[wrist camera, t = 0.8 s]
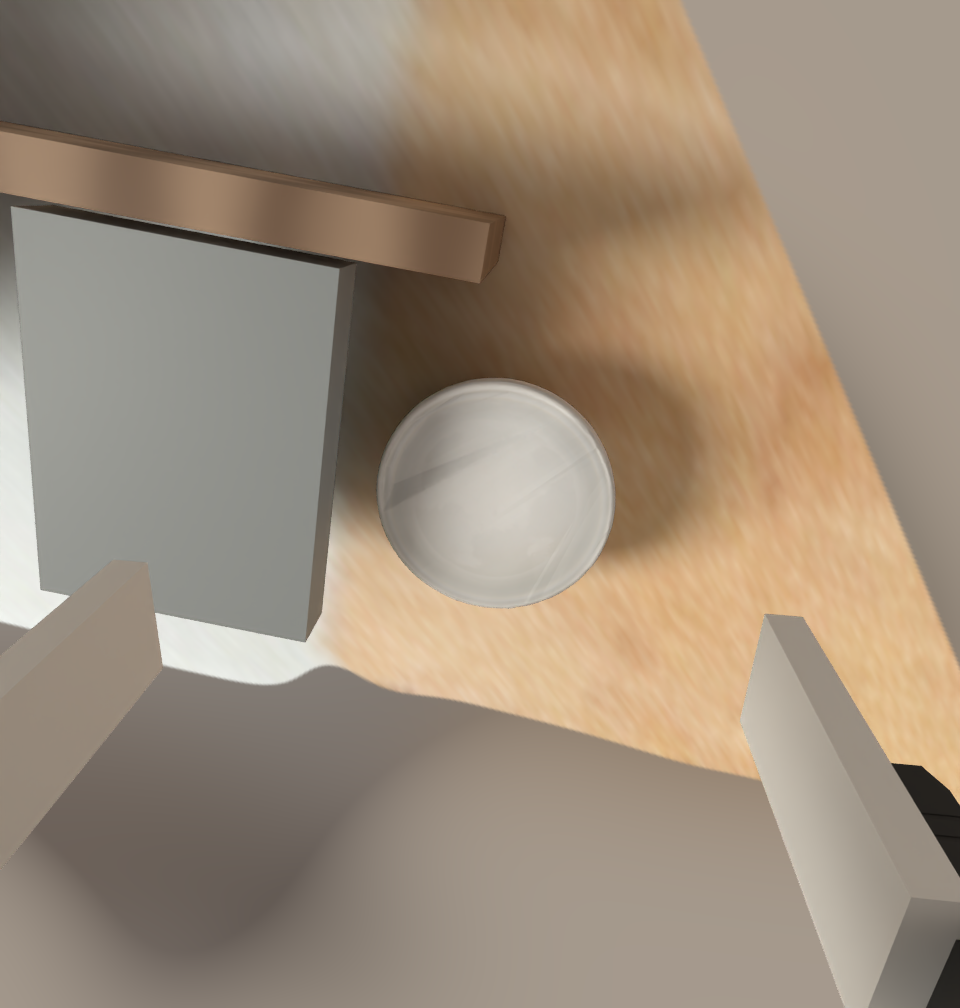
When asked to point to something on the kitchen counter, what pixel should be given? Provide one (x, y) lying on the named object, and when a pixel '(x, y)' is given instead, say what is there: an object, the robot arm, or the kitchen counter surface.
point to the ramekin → (496, 493)
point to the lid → (183, 412)
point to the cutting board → (249, 203)
